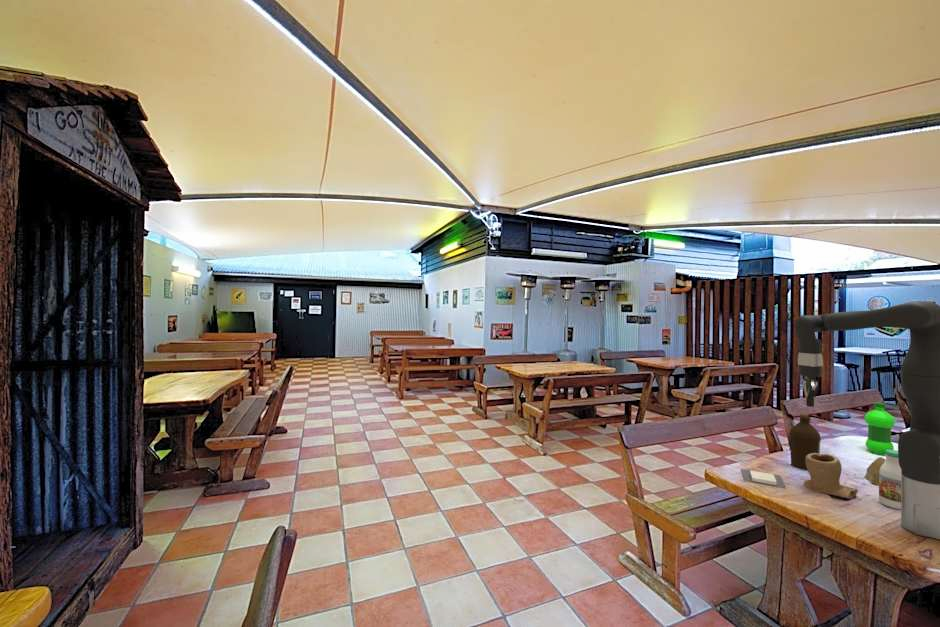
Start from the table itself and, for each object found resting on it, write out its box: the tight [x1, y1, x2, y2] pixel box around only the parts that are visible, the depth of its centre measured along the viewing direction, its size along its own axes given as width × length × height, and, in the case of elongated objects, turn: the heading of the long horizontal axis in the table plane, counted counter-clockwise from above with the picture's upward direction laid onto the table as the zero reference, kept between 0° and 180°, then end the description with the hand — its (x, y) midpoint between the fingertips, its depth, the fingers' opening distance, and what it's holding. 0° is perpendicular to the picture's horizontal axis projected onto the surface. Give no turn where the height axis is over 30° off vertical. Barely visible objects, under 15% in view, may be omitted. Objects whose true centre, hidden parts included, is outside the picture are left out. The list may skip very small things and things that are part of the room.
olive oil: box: [788, 413, 822, 472], centre depth 172 cm, size 11×11×25 cm
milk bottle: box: [878, 449, 901, 510], centre depth 141 cm, size 8×8×20 cm
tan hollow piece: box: [803, 453, 859, 500], centre depth 150 cm, size 15×12×15 cm
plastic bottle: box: [864, 401, 896, 456], centre depth 190 cm, size 10×10×25 cm
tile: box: [750, 470, 777, 486], centre depth 160 cm, size 2×8×8 cm
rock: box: [864, 456, 886, 486], centre depth 161 cm, size 11×9×10 cm
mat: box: [740, 468, 787, 490], centre depth 161 cm, size 14×14×1 cm
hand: (809, 406), depth 156 cm, fingers closed
